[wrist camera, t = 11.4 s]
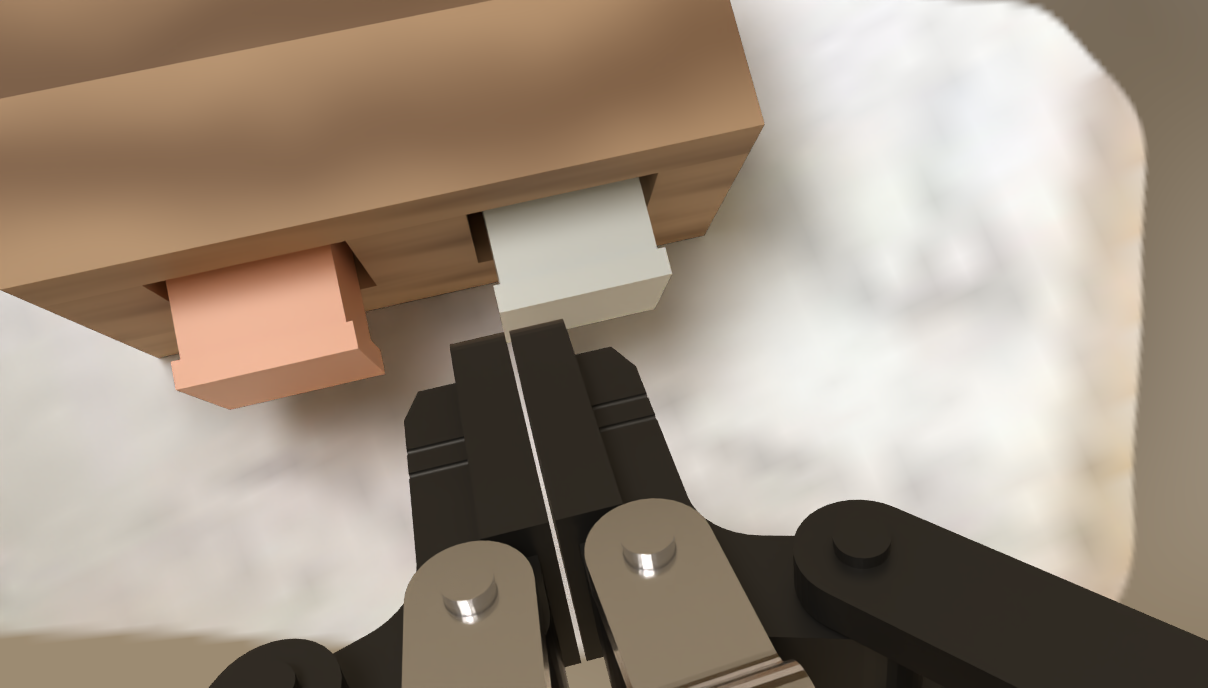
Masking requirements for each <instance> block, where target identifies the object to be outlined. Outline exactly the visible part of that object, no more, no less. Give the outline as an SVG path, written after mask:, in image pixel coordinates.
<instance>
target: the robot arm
mask: <svg viewBox="0 0 1208 688" xmlns="http://www.w3.org/2000/svg"><path fill="white" fill-rule="evenodd" d="M509 333H510V338H511V342H512V347H513V351H514V356H515V360H516V364H517V369H518V373H519V378H520V382H521V386H522V391H523V395H524V400H525V404H526V408H527V413H528V417H529V422H530V426H531V430H532V435H533V439H534V443H535V448H536V452H537V456H538V460H539V465H540V469H541V473H542V477H543V481H544V485H545V490H546V494H547V498H548V502H549V506H550V510H551V514H552V519H553V523H554V527H555V531H556V535H557V539H558V544H559V548H560V552H561V556H562V560H563V564H564V568H565V573H566V577H567V581H568V585H569V589H570V593H571V598H572V602H573V606H574V610H575V614H576V618H577V622H578V627H579V631H580V635H581V639H582V643H583V647H584V652H585V656H586V660H587V661H588V660H592V659H596V658H600V657H604V659H605V663H606V667H607V671H608V675H609V679H610V683H611V686H612V688H1208V641H1207V640H1205V639H1203V638H1200V637H1198V636H1196V635H1193V634H1191V633H1189V632H1186V631H1184V630H1181V629H1179V628H1177V627H1175V626H1172V625H1170V624H1168V623H1165V622H1163V621H1161V620H1158V619H1156V618H1154V617H1151V616H1149V615H1146V614H1144V613H1142V612H1139V611H1137V610H1135V609H1132V608H1130V607H1128V606H1125V605H1123V604H1121V603H1118V602H1116V601H1114V600H1111V599H1109V598H1107V597H1104V596H1102V595H1099V594H1097V593H1095V592H1092V591H1090V590H1088V589H1085V588H1083V587H1081V586H1078V585H1076V584H1074V583H1071V582H1069V581H1067V580H1064V579H1062V578H1060V577H1057V576H1055V575H1052V574H1050V573H1048V572H1045V571H1043V570H1041V569H1038V568H1036V567H1034V566H1031V565H1029V564H1027V563H1024V562H1022V561H1020V560H1017V559H1015V558H1013V557H1010V556H1008V555H1005V554H1003V553H1001V552H998V551H996V550H994V549H991V548H989V547H987V546H984V545H982V544H980V543H977V542H975V541H973V540H970V539H968V538H966V537H963V536H961V535H959V534H956V533H954V532H951V531H949V530H947V529H944V528H942V527H940V526H937V525H935V524H933V523H930V522H928V521H926V520H923V519H921V518H919V517H916V516H914V515H912V514H909V513H907V512H904V511H902V510H900V509H897V508H895V507H892V506H890V505H887V504H884V503H880V502H875V501H868V500H847V501H840V502H836V503H832V504H829V505H826V506H824V507H822V508H820V509H818V510H816V511H815V512H813V513H812V514H810V515H809V516H808V517H807V518H806V519H805V520H804V521H803V522H802V523H801V525H800V526H799V528H798V529H797V531H796V534H795V536H760V535H747V534H742V533H736V532H733V531H730V530H726V529H724V528H721V527H719V526H717V525H715V524H713V523H712V522H710V521H708V520H707V519H705V518H704V517H703V516H702V515H701V514H700V513H699V512H697V510H696V509H695V508H694V507H693V505H692V504H691V502H690V500H689V498H688V496H687V494H686V491H685V489H684V486H683V484H682V481H681V479H680V476H679V474H678V471H677V469H676V466H675V464H674V461H673V459H672V456H671V454H670V451H669V449H668V446H667V444H666V441H665V439H664V436H663V433H662V431H661V428H660V426H659V423H658V421H657V420H656V418H655V413H654V411H653V408H652V406H651V403H650V401H649V398H647V394H646V391H645V388H644V386H643V383H642V381H641V378H640V376H639V373H638V371H637V368H636V366H635V365H634V364H632V363H631V362H630V361H628V360H627V359H626V358H625V357H623V356H622V355H621V354H620V353H618V352H617V351H616V350H615V349H613V348H612V347H607V348H603V349H599V350H594V351H590V352H586V353H581V354H577V355H575V354H574V351H573V348H572V344H571V341H570V338H569V335H568V332H567V329H566V326H565V323H564V320H563V319H558V320H554V321H550V322H545V323H541V324H537V325H532V326H528V327H524V328H519V329H515V330H511V331H509ZM450 351H451V357H452V364H453V370H454V376H455V383H454V384H449V385H445V386H441V387H436V388H432V389H428V390H424V391H419V392H418V393H417V395H416V397H415V399H414V401H413V403H412V405H411V408H410V410H409V412H408V414H407V416H406V418H405V420H404V426H405V437H406V449H407V453H408V455H407V460H408V471H409V476H410V479H409V483H410V494H411V506H412V517H413V528H414V540H415V551H416V563H417V571H416V573H415V574H414V576H413V577H412V579H411V581H410V583H409V584H408V587H407V590H406V593H405V598H404V604H403V605H402V606H401V607H400V609H399V610H398V611H397V612H396V613H395V614H394V615H393V616H392V617H391V618H390V619H389V620H388V621H387V622H386V623H384V624H383V625H382V626H380V627H379V628H378V629H376V630H375V631H373V632H371V633H370V634H368V635H366V636H365V637H363V638H361V639H359V640H357V641H355V642H354V643H352V644H350V645H348V646H346V647H344V648H343V649H341V650H339V651H337V652H335V653H334V654H332V653H331V652H330V651H329V650H328V649H327V648H325V647H324V646H322V645H320V644H318V643H316V642H313V641H309V640H305V639H284V640H279V641H274V642H270V643H267V644H265V645H262V646H259V647H257V648H255V649H253V650H251V651H249V652H247V653H246V654H244V655H243V656H241V657H239V658H238V659H237V660H235V661H234V662H233V663H232V664H230V665H229V666H228V667H227V668H226V669H225V670H224V671H223V672H222V673H221V674H220V675H219V676H218V677H217V679H216V680H215V681H214V682H213V683H212V685H210V687H209V688H569V685H568V681H567V676H566V671H565V667H567V666H571V665H575V664H579V663H581V660H580V655H579V651H578V647H577V642H576V638H575V634H574V629H573V625H572V621H571V616H570V612H569V608H568V603H567V599H566V594H565V590H564V586H563V581H562V577H561V573H560V568H559V564H558V560H557V555H556V551H555V547H554V542H553V538H552V534H551V529H550V525H549V521H548V516H547V512H546V508H545V504H544V499H543V495H542V491H541V487H540V482H539V478H538V474H537V470H536V465H535V461H534V457H533V453H532V448H531V444H530V440H529V436H528V432H527V427H526V423H525V419H524V415H523V410H522V406H521V402H520V398H519V393H518V389H517V385H516V381H515V376H514V372H513V368H512V364H511V359H510V355H509V351H508V347H507V342H506V338H505V334H504V332H503V333H498V334H494V335H490V336H485V337H481V338H477V339H472V340H468V341H464V342H459V343H455V344H450Z"/></svg>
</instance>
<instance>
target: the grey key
mask: <svg viewBox="0 0 1208 688" xmlns="http://www.w3.org/2000/svg"><path fill="white" fill-rule="evenodd" d="M482 214H483V218H484V222H485V227H486V231H487V235H488V239H489V244H490V248H491V252H492V257H493V261H494V265H495V269H496V274H497V278H498V282H499V284H498V285H494V286H493V287H494V291H495V296H496V300H497V305H498V309H499V313H500V318H501V322H502V327H503V331H504V334H505V338H506V342H507V343H509V342H511V338H510V333H509V331H511V330H515V329H519V328H524V327H528V326H532V325H537V324H541V323H545V322H550V321H554V320H558V319H563V320H564V323H565V326H566V329H570V328H574V327H579V326H583V325H587V324H592V323H596V322H600V321H605V320H609V319H613V318H618V317H622V316H626V315H631V314H635V313H639V312H644V311H648V310H652V309H655V307H656V305H657V303H658V301H659V299H660V297H661V295H662V293H663V291H664V289H665V287H666V285H667V283H668V281H669V279H670V277H671V275H672V271H671V267H670V263H669V259H668V256H667V252H666V248H665V247H663V248H658V249H657V245H656V242H655V238H654V234H653V230H652V226H651V222H650V218H649V215H648V211H647V207H646V203H645V199H644V195H643V191H642V188H641V184H640V180H639V177H636V178H632V179H627V180H623V181H618V182H613V183H609V184H604V185H600V186H595V187H590V188H586V189H581V190H577V191H572V192H568V193H563V194H558V195H554V196H549V197H545V198H540V199H536V200H531V201H526V202H522V203H517V204H513V205H508V206H503V207H499V208H494V209H490V210H485V211H482Z"/></svg>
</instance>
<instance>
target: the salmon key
mask: <svg viewBox="0 0 1208 688" xmlns="http://www.w3.org/2000/svg"><path fill="white" fill-rule="evenodd" d="M166 285H167V290H168V296H169V301H170V306H171V312H172V317H173V323H174V328H175V334H176V339H177V344H178V350H179V355H180V360H176V361H171V366H172V372H173V377H174V383H175V388H176V390H177V391H180V392H183V393H185V394H188V395H191V396H194V397H196V398H199V399H202V400H205V401H207V402H210V403H213V404H216V405H218V406H221V407H224V408H226V409H229V410H231V409H235V408H240V407H244V406H248V405H253V404H257V403H261V402H266V401H270V400H274V399H279V398H283V397H287V396H292V395H296V394H300V393H305V392H309V391H313V390H318V389H322V388H326V387H331V386H335V385H339V384H344V383H348V382H353V381H357V380H361V379H366V378H370V377H374V376H379V375H383V374H385V370H384V365H383V360H382V356H381V351H380V349H379V348H378V347H377V346H376V345H375V344H374V343H373V342H372V341H371V338H370V333H369V328H368V324H367V319H366V314H365V310H364V305H363V300H362V295H361V291H360V286H359V281H358V277H357V272H356V267H355V263H354V258H353V253H352V250H351V248H350V247H349V245H348V244H347V242H346V241H343V242H339V243H334V244H330V245H325V246H320V247H316V248H311V249H307V250H302V251H297V252H293V253H288V254H284V255H279V256H275V257H270V258H265V259H261V260H256V261H252V262H247V263H243V264H238V265H233V266H229V267H224V268H220V269H215V270H210V271H206V272H201V273H197V274H192V275H188V276H183V277H178V278H174V279H169V280H166Z"/></svg>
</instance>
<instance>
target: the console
mask: <svg viewBox="0 0 1208 688" xmlns="http://www.w3.org/2000/svg"><path fill="white" fill-rule="evenodd" d="M763 126H764V121H763V117H762V114H761V110H760V106H759V103H758V99H757V96H756V92H755V89H754V85H753V81H752V78H751V74H750V71H749V67H748V64H747V60H746V56H745V53H744V49H743V46H742V42H741V39H740V35H739V32H738V28H737V24H736V21H735V17H734V14H733V10H732V7H731V3H730V0H0V290H2V291H4V292H6V293H9V294H11V295H13V296H16V297H18V298H20V299H22V300H25V301H27V302H29V303H32V304H34V305H36V306H39V307H41V308H43V309H46V310H48V311H50V312H53V313H55V314H57V315H60V316H62V317H64V318H67V319H69V320H71V321H73V322H76V323H78V324H80V325H83V326H85V327H87V328H90V329H92V330H94V331H97V332H99V333H101V334H104V335H106V336H108V337H111V338H113V339H115V340H118V341H120V342H122V343H124V344H127V345H129V346H131V347H134V348H136V349H138V350H141V351H143V352H145V353H148V354H150V355H152V356H155V357H157V358H161V357H165V356H169V355H174V354H178V353H179V350H178V344H177V339H176V334H175V328H174V323H173V317H172V312H171V306H170V301H169V296H168V290H167V285H166V280H169V279H174V278H178V277H183V276H188V275H192V274H197V273H201V272H206V271H210V270H215V269H220V268H224V267H229V266H233V265H238V264H243V263H247V262H252V261H256V260H261V259H265V258H270V257H275V256H279V255H284V254H288V253H293V252H297V251H302V250H307V249H311V248H316V247H320V246H325V245H330V244H334V243H339V242H343V241H346V242H347V244H348V245H349V247H350V248H351V250H352V253H353V258H354V263H355V267H356V272H357V277H358V281H359V286H360V291H361V295H362V300H363V305H364V310H365V311H370V310H374V309H378V308H383V307H387V306H392V305H396V304H401V303H405V302H410V301H414V300H419V299H423V298H427V297H432V296H436V295H441V294H445V293H450V292H454V291H459V290H463V289H467V288H472V287H476V286H481V285H485V284H490V283H494V282H498V278H497V274H496V269H495V265H494V261H493V257H492V252H491V248H490V244H489V239H488V235H487V231H486V227H485V222H484V218H483V214H482V211H485V210H490V209H494V208H499V207H503V206H508V205H513V204H517V203H522V202H526V201H531V200H536V199H540V198H545V197H549V196H554V195H558V194H563V193H568V192H572V191H577V190H581V189H586V188H590V187H595V186H600V185H604V184H609V183H613V182H618V181H623V180H627V179H632V178H636V177H639V180H640V184H641V188H642V191H643V195H644V199H645V203H646V207H647V211H648V215H649V218H650V222H651V226H652V230H653V234H654V238H655V242H656V245H657V246H659V245H663V244H668V243H672V242H676V241H681V240H685V239H690V238H694V237H699V236H703V235H705V233H706V231H707V230H708V228H709V226H710V224H711V222H712V220H713V218H714V217H715V215H716V213H717V211H718V209H719V207H720V206H721V204H722V202H723V200H724V198H725V196H726V195H727V193H728V191H729V189H730V187H731V185H732V183H733V182H734V180H735V178H736V176H737V174H738V172H739V171H740V169H741V167H742V165H743V163H744V161H745V159H746V158H747V156H748V154H749V152H750V150H751V148H752V147H753V145H754V143H755V141H756V139H757V137H758V136H759V134H760V132H761V130H762V128H763Z"/></svg>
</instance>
